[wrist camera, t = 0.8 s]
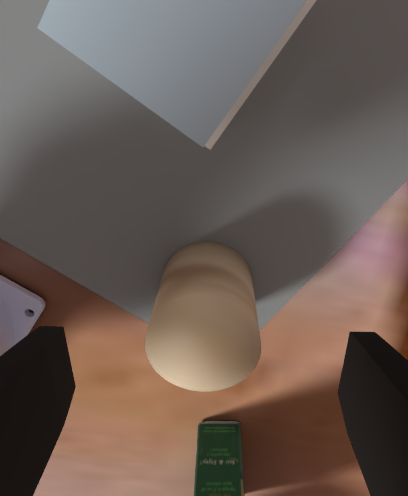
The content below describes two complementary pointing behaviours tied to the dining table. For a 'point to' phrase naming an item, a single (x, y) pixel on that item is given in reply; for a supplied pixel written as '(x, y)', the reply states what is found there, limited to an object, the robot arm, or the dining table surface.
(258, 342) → the beech cylinder
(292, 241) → the slate mat
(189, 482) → the dining table surface
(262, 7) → the top block
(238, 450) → the coffee box
